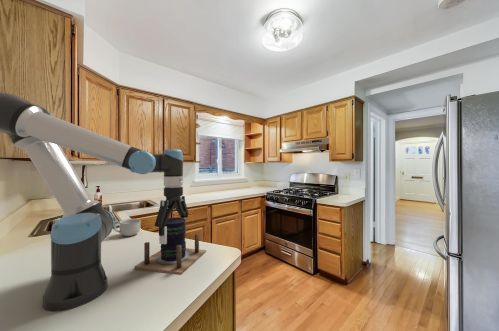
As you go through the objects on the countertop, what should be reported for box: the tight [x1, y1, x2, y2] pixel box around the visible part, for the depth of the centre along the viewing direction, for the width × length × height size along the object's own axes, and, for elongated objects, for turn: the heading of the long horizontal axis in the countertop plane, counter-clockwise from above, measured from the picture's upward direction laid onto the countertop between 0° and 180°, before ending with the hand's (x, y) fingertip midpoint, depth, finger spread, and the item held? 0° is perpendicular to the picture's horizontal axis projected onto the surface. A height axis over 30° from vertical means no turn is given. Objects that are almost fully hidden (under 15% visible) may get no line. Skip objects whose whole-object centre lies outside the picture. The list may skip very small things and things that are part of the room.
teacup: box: [113, 218, 142, 237], centre depth 118 cm, size 14×11×8 cm
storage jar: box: [160, 217, 187, 262], centre depth 86 cm, size 10×10×15 cm
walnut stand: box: [134, 232, 207, 275], centre depth 86 cm, size 20×20×10 cm
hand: (173, 237), depth 86 cm, fingers open, 13 cm apart
